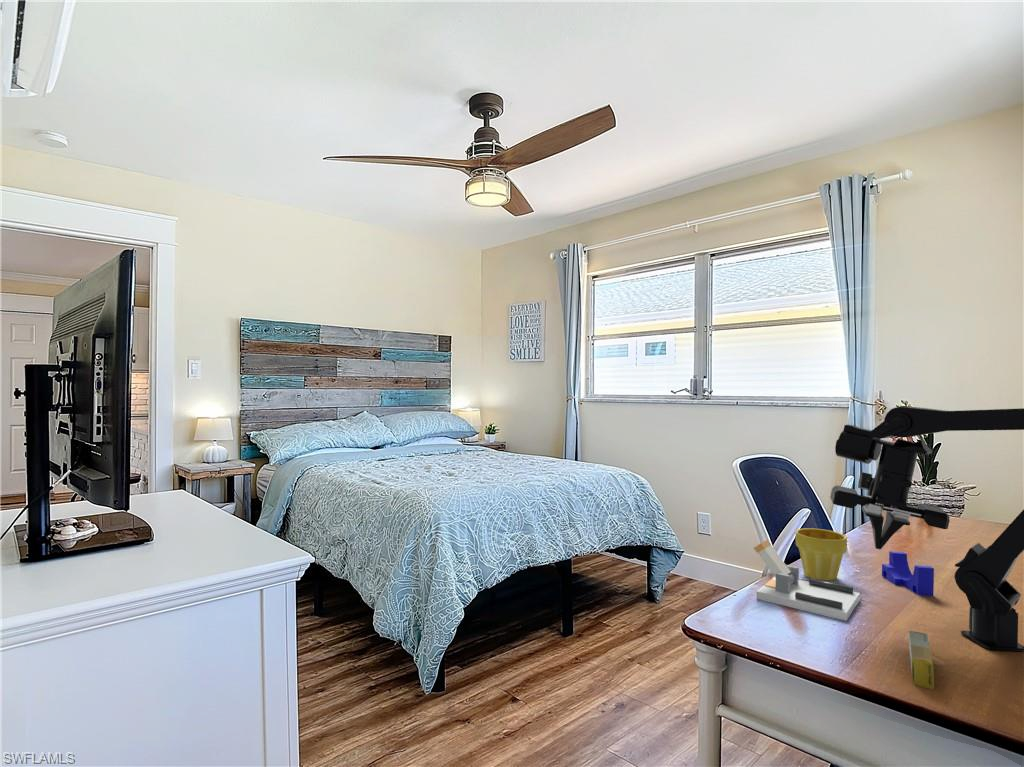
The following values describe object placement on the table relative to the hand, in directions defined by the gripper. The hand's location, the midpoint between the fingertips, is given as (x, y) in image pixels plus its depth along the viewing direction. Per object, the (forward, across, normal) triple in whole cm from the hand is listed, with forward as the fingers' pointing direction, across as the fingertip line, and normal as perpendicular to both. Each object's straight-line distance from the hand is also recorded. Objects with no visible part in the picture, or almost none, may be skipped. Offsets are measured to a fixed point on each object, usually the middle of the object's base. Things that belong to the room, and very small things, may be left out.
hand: (877, 548), depth 112 cm
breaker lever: (+11, +14, -1) cm, 18 cm away
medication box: (+10, -3, +26) cm, 28 cm away
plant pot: (+15, +6, -17) cm, 23 cm away
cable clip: (+12, -11, -19) cm, 25 cm away
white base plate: (+14, +10, +1) cm, 17 cm away
